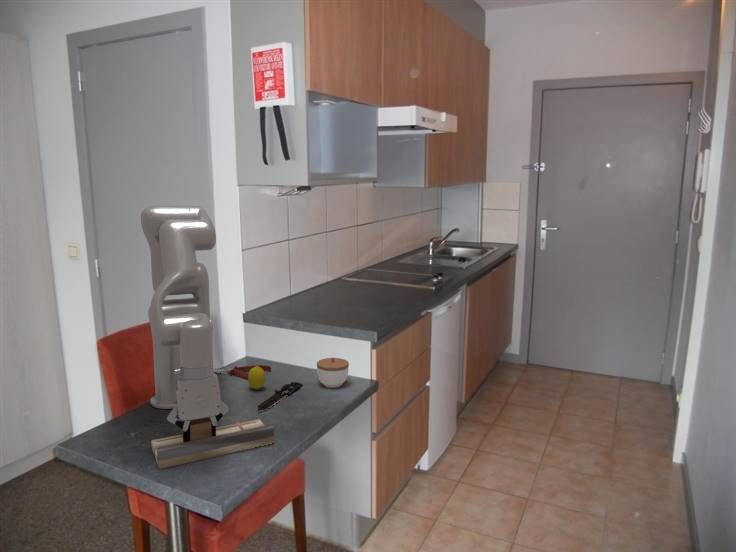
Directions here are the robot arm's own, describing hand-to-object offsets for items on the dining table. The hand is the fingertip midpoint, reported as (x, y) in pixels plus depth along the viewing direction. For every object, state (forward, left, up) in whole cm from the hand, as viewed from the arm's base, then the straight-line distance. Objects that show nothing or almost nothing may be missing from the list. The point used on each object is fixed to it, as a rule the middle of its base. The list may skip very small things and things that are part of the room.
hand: (199, 440), depth 135 cm
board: (-2, +4, -3) cm, 5 cm away
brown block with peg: (-2, 0, -1) cm, 2 cm away
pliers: (-53, +27, -4) cm, 59 cm away
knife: (-25, +30, -4) cm, 39 cm away
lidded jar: (-28, +50, -3) cm, 57 cm away
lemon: (-35, +26, -3) cm, 43 cm away
